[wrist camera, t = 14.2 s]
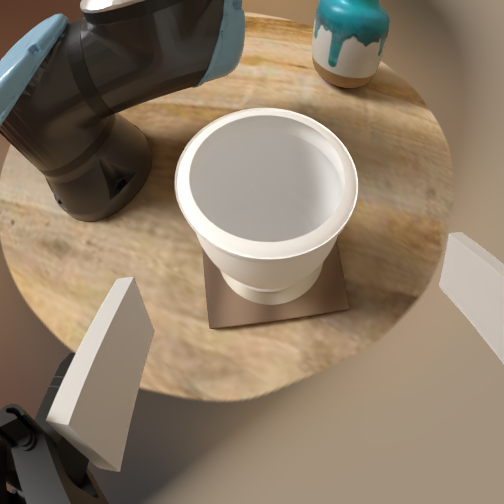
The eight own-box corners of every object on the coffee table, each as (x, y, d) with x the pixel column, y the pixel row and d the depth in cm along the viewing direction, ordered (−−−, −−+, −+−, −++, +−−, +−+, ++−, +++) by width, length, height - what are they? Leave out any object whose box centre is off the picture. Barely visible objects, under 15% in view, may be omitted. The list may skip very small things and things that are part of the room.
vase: (383, 87, 39) (414, -6, 21) (342, 107, 38) (368, -5, 20) (338, 55, 42) (353, -33, 24) (295, 71, 41) (301, -31, 23)
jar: (199, 280, 30) (142, 220, 15) (237, 194, 32) (219, 93, 18) (299, 318, 28) (333, 289, 14) (329, 225, 31) (372, 134, 17)
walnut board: (211, 328, 29) (209, 327, 28) (201, 205, 34) (199, 200, 32) (346, 309, 29) (349, 308, 28) (320, 190, 34) (322, 184, 32)
